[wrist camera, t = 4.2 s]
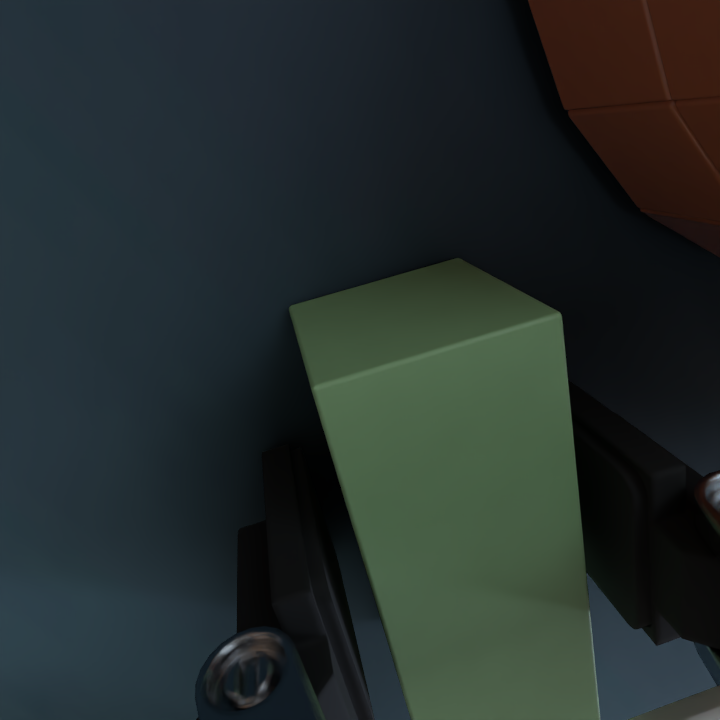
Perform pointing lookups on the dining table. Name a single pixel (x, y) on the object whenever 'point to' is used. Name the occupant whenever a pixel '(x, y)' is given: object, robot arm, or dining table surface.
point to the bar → (460, 487)
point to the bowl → (645, 99)
